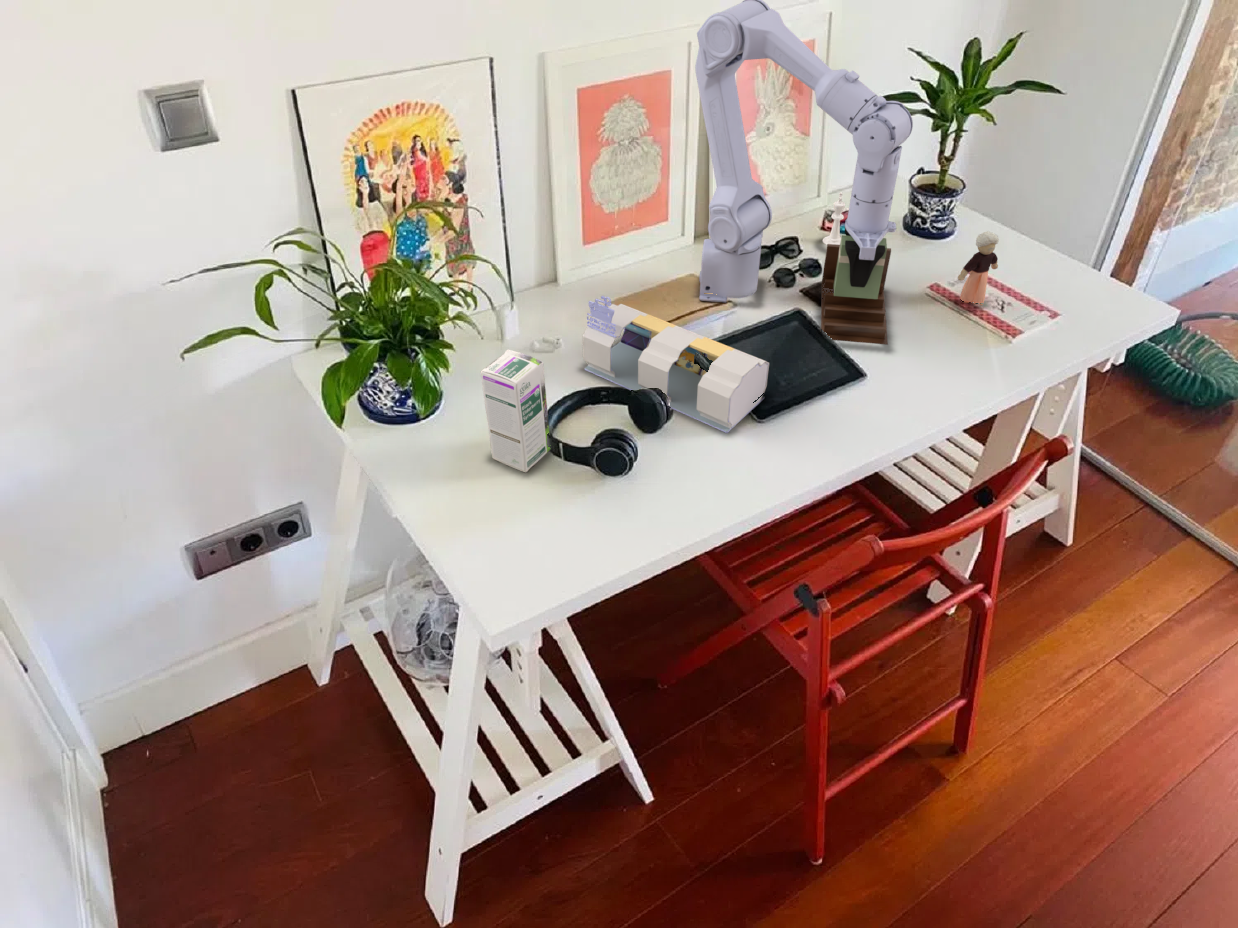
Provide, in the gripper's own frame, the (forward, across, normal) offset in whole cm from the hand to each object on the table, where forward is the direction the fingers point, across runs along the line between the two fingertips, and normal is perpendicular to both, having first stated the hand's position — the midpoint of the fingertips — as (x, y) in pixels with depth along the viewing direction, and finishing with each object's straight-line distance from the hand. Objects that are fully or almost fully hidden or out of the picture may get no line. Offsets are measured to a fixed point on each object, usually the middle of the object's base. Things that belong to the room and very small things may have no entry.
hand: (857, 279), depth 148 cm
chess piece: (+10, +28, +2) cm, 30 cm away
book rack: (+10, +5, -1) cm, 11 cm away
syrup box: (+10, -36, +43) cm, 57 cm away
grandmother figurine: (+10, +12, -20) cm, 25 cm away
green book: (+2, 0, 0) cm, 2 cm away
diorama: (+10, -17, +25) cm, 32 cm away
